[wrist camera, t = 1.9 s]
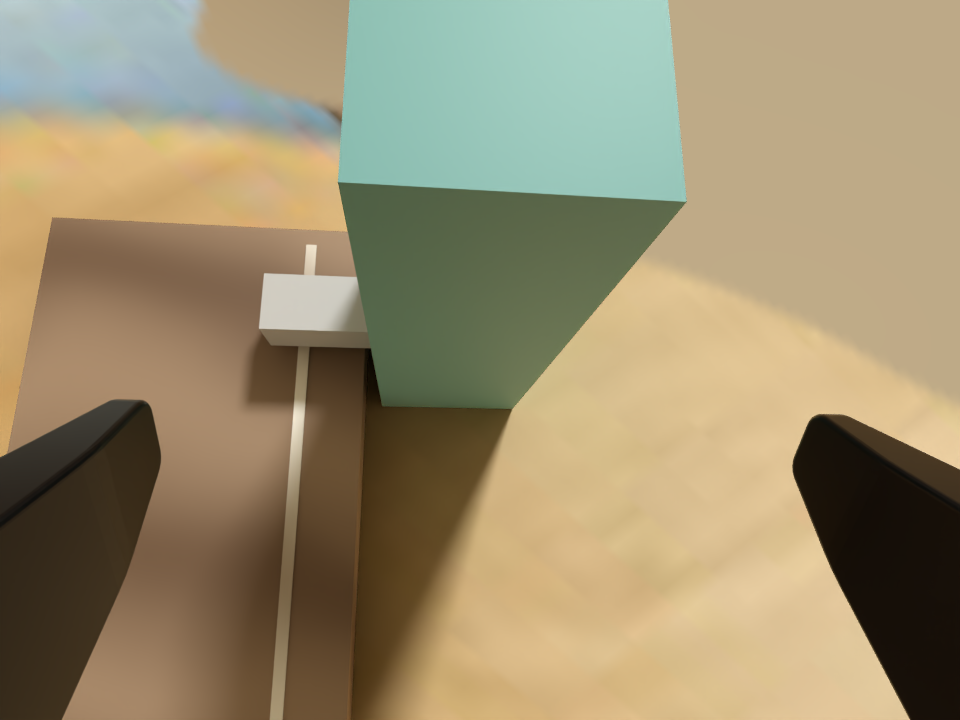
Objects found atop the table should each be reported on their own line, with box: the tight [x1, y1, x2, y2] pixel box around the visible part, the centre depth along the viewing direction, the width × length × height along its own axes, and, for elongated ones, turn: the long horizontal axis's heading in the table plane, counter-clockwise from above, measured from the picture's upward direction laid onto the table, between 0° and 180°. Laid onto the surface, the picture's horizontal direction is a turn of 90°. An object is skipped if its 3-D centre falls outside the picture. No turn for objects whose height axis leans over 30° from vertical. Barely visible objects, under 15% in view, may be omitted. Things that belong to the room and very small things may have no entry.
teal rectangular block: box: [259, 0, 687, 409], centre depth 14 cm, size 4×7×13 cm, turn 90°
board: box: [7, 218, 369, 720], centre depth 17 cm, size 20×9×2 cm, turn 0°
